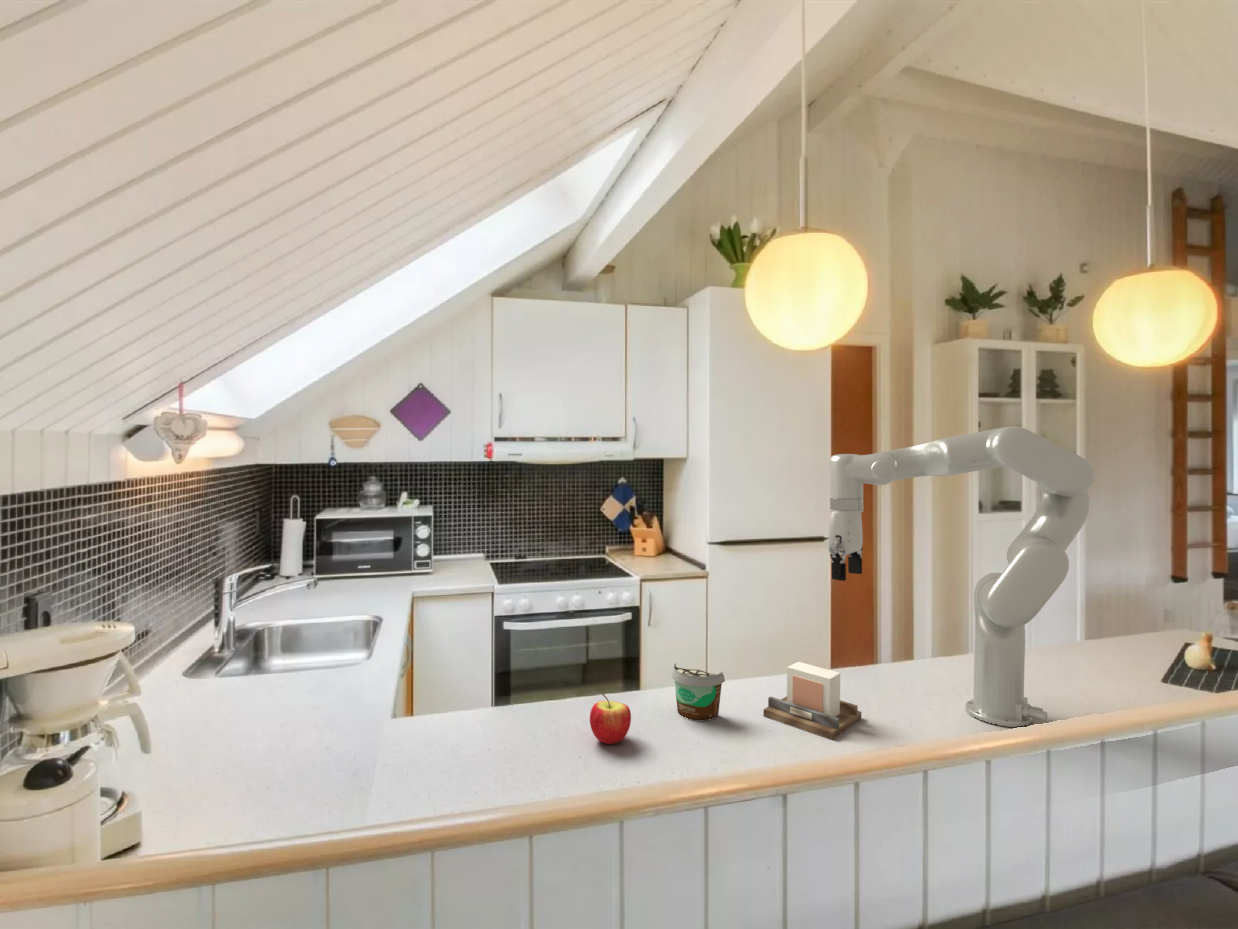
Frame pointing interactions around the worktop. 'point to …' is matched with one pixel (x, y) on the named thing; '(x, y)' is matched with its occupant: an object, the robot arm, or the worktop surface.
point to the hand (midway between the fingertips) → (847, 576)
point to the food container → (697, 693)
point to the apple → (610, 721)
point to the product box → (814, 688)
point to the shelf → (813, 717)
